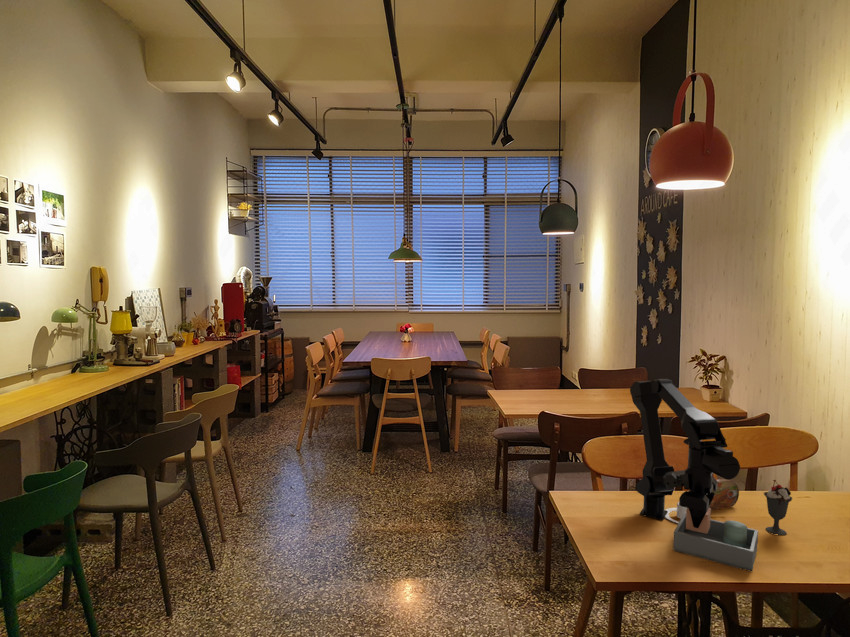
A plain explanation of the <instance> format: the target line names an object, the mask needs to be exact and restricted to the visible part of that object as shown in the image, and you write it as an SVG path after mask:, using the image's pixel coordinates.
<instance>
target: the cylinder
mask: <svg viewBox="0 0 850 637" xmlns="http://www.w3.org/2000/svg"><path fill="white" fill-rule="evenodd" d="M723 522H724V537H723V543H726V544H730V545H734V546H738V547H742V548H746V539H747V528H748V526H747V525H746V524H745V523H743V522H740V521H736V520H725V521H723Z"/></svg>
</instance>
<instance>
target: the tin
mask: <svg viewBox="0 0 850 637" xmlns="http://www.w3.org/2000/svg"><path fill="white" fill-rule="evenodd" d="M716 481H717V482H718V486H717V490H716V491H713V489H712V491H711V492H713V493H715V496H714V498H713V500H712V502H711V504H710V506H709V508H711V510H712V511H718V510H723V509H724V508H725V509H730V508H732V507H733V506H736V503H738V500H739V496H740V490H739V487H738V485H737V484H736V482H734V481H732V480H731V479H730V480H728V479H724V478H719V479H716ZM717 509H718V510H717Z"/></svg>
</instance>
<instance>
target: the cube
mask: <svg viewBox="0 0 850 637" xmlns="http://www.w3.org/2000/svg"><path fill="white" fill-rule="evenodd" d="M711 512H712V511H711V508H708V510H707V512H706V514H705V516H704V518H703V520H702V522H701V524H700V526H699V528H695V527H693V523H692V518H691V514H690V511H689V508H687V510H686V529H689V530H693V531H697V532H701V533H705V534H707V533H708V531H709V528H710V520H711V519H712V518H711V517H712V516H711V515H712V514H711Z"/></svg>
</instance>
